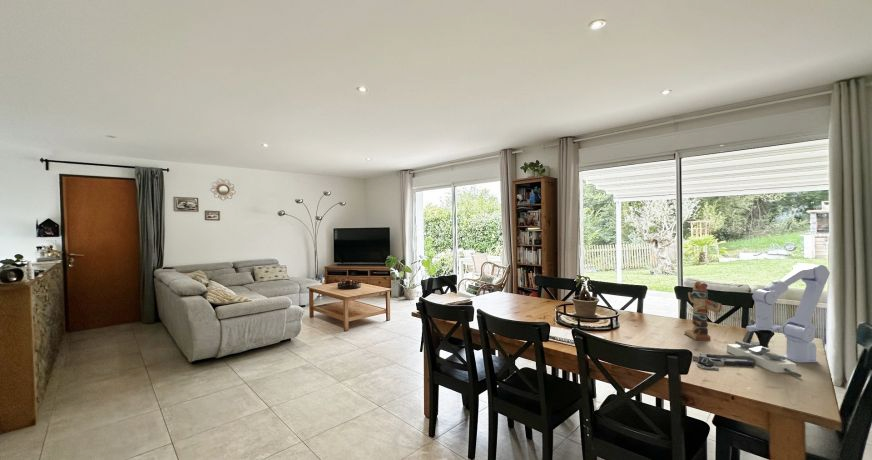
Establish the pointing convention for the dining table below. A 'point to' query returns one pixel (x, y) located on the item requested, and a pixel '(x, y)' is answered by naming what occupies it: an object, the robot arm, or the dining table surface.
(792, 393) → the dining table surface
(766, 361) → the power strip
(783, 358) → the rocker
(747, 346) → the rocker
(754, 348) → the rocker
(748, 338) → the dark grey a-frame stand
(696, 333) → the totem pole
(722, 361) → the firearm
